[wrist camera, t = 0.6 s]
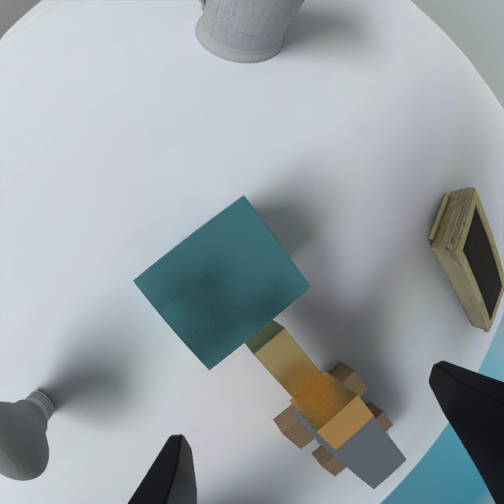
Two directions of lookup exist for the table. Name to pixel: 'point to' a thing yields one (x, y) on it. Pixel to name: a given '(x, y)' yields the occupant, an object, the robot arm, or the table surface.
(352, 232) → the table surface
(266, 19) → the glass holder
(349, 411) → the yellow sliding bolt
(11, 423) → the light bulb
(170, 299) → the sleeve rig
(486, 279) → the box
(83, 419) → the table surface
